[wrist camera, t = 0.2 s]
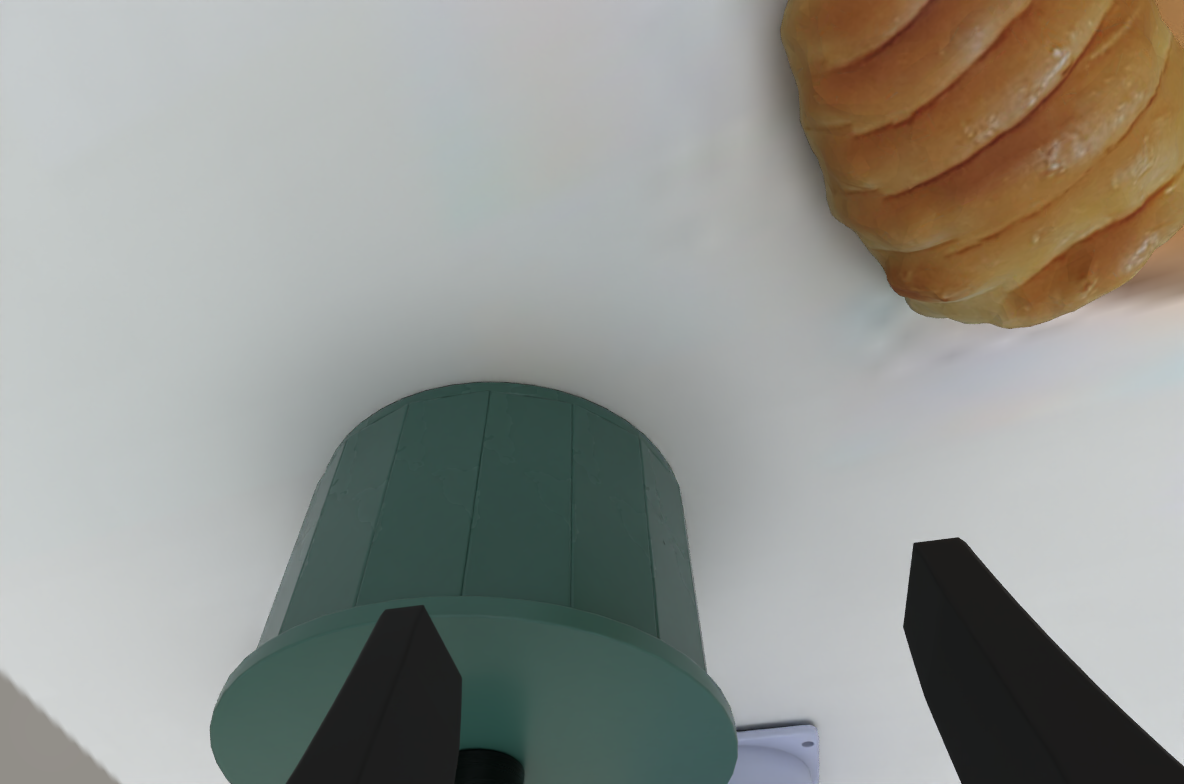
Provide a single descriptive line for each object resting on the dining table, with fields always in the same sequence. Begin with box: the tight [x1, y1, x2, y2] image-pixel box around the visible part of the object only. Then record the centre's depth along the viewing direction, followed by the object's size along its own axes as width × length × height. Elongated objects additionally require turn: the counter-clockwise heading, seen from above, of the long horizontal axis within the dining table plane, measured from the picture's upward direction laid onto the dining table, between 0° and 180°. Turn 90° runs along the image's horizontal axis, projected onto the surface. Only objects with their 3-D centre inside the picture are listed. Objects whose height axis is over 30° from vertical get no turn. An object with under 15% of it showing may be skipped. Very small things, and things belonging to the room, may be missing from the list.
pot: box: [257, 382, 707, 673], centre depth 22 cm, size 12×12×8 cm
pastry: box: [780, 0, 1184, 329], centre depth 15 cm, size 9×7×4 cm
